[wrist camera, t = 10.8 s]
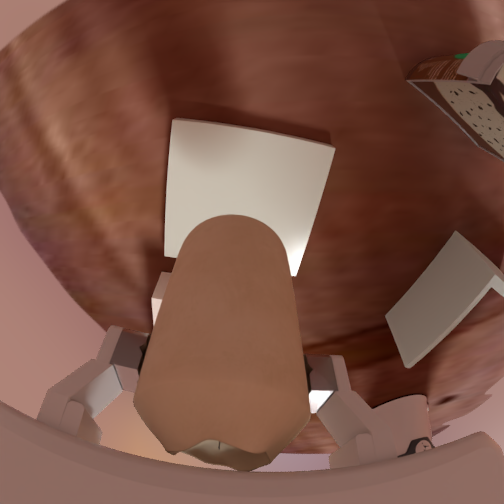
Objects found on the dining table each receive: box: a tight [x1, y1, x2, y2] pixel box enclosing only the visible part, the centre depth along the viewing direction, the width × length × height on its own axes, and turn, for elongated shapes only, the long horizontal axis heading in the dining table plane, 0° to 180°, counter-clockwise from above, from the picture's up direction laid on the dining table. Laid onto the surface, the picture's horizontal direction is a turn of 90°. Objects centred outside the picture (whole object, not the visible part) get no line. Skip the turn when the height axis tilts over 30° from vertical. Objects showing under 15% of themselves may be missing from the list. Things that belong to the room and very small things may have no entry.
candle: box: [133, 214, 311, 471], centre depth 11 cm, size 6×6×10 cm
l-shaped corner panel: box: [385, 230, 504, 368], centre depth 24 cm, size 12×12×8 cm
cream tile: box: [164, 118, 336, 276], centre depth 21 cm, size 11×11×1 cm
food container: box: [405, 40, 504, 162], centre depth 11 cm, size 12×6×10 cm, turn 66°
